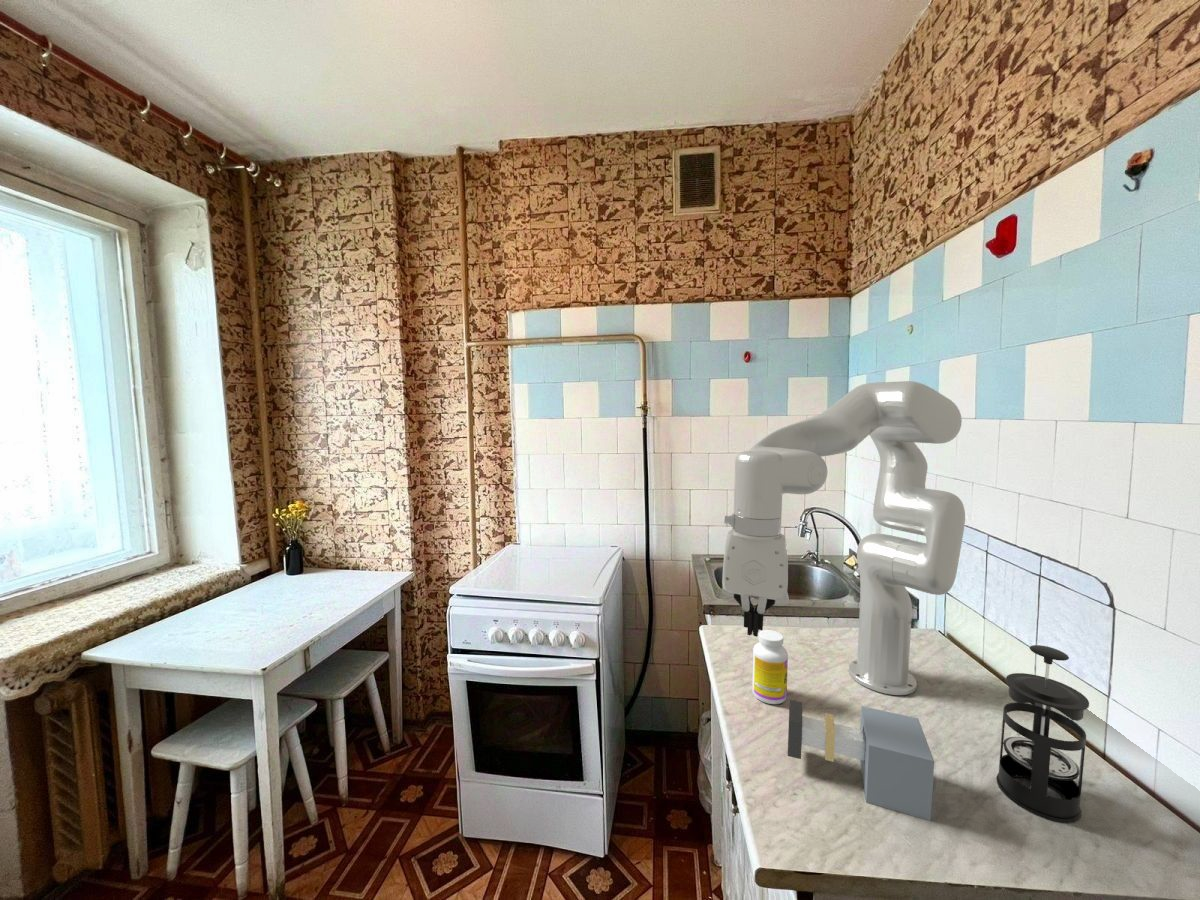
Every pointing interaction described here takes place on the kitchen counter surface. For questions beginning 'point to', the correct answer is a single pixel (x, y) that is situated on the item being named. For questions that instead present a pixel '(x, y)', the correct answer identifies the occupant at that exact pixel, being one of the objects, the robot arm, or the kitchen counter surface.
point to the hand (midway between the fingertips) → (753, 632)
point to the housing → (896, 763)
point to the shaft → (823, 735)
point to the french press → (1043, 744)
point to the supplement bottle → (770, 668)
